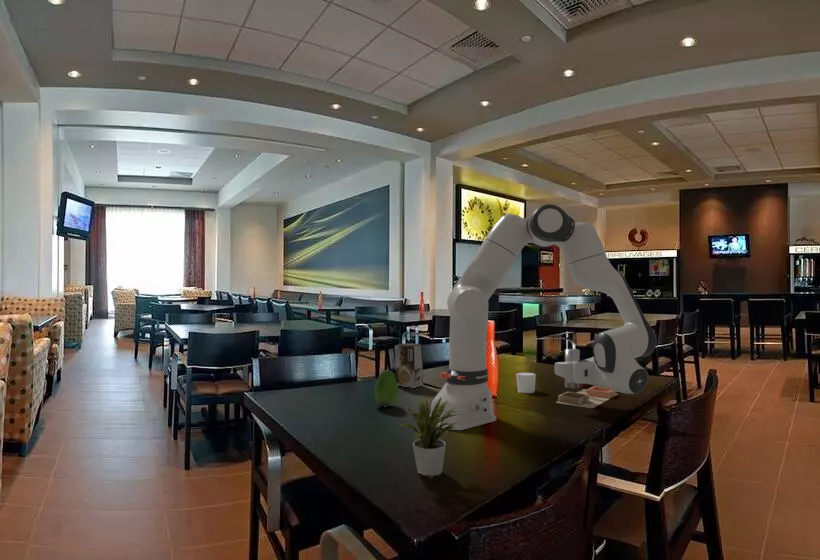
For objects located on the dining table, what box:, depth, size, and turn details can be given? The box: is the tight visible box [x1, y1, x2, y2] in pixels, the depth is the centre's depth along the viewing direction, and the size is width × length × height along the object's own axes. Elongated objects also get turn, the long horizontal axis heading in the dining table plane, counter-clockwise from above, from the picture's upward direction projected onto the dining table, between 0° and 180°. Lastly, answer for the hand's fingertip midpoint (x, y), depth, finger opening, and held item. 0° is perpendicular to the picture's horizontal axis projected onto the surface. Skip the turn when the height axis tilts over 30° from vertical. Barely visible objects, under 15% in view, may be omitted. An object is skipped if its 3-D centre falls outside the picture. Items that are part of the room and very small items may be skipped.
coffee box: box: [394, 342, 424, 389], centre depth 194 cm, size 9×6×16 cm
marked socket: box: [586, 386, 617, 400], centre depth 172 cm, size 7×7×2 cm
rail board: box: [555, 389, 619, 409], centre depth 168 cm, size 24×12×3 cm, turn 140°
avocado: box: [373, 369, 399, 407], centre depth 163 cm, size 8×8×12 cm
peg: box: [564, 348, 581, 389], centre depth 164 cm, size 4×4×12 cm
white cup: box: [515, 371, 537, 394], centre depth 179 cm, size 7×7×7 cm
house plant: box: [400, 396, 464, 476], centre depth 106 cm, size 14×14×16 cm
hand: (570, 364), depth 165 cm, fingers closed on peg, 4 cm apart
